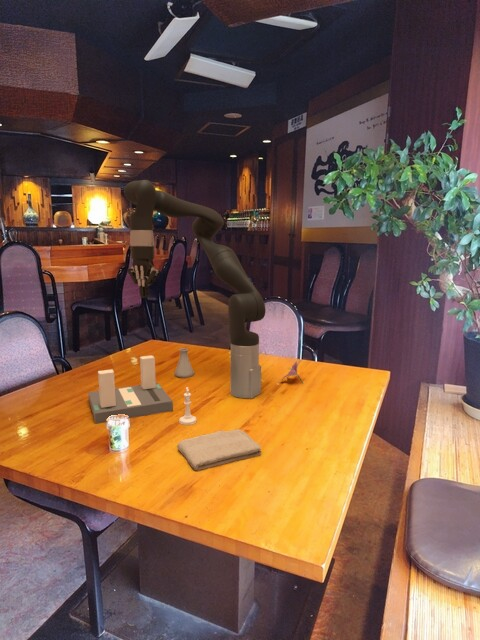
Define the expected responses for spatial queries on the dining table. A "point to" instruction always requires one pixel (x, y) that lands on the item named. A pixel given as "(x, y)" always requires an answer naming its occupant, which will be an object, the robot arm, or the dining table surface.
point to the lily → (293, 371)
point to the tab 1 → (106, 388)
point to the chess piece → (187, 411)
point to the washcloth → (218, 448)
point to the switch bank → (132, 402)
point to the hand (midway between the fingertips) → (144, 297)
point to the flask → (184, 365)
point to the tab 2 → (147, 372)
